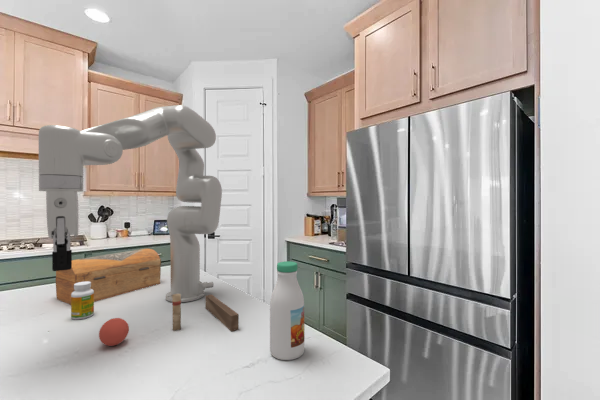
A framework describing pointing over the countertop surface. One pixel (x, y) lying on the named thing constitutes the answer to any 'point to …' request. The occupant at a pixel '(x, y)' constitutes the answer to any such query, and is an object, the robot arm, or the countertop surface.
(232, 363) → the countertop surface
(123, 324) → the ball
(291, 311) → the milk bottle
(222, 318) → the wall
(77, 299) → the supplement bottle
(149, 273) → the wooden box
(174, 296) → the pin
